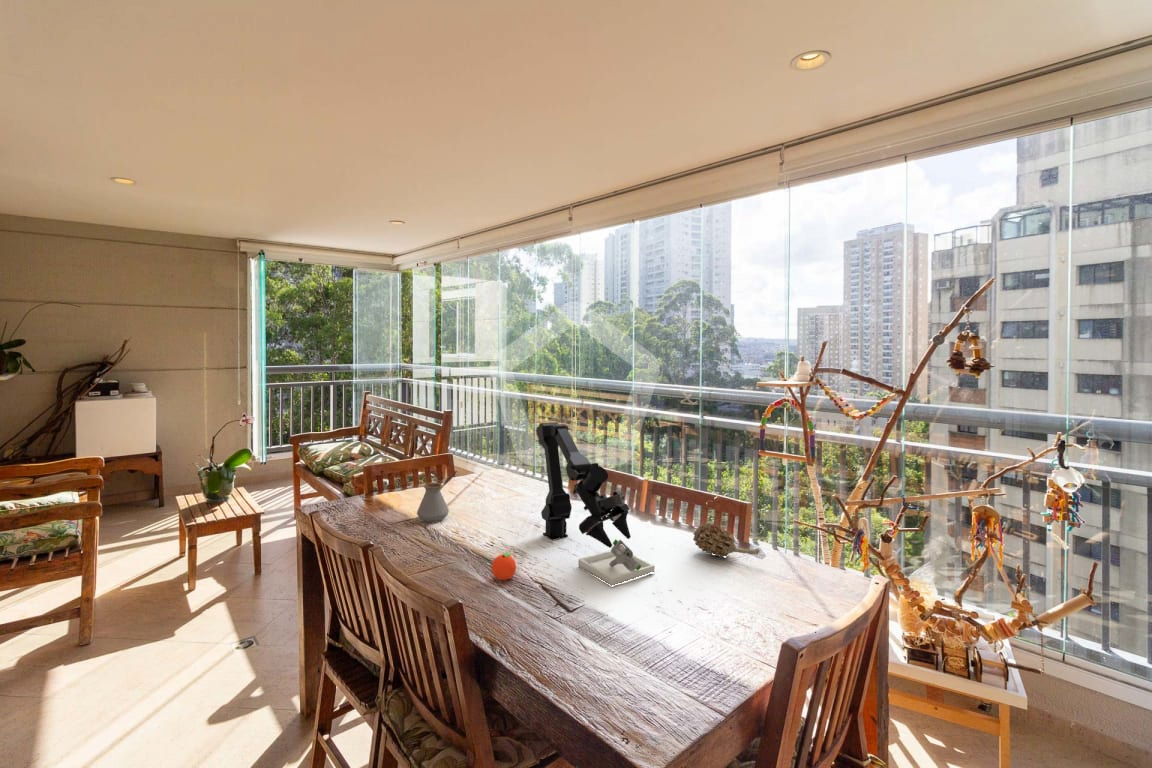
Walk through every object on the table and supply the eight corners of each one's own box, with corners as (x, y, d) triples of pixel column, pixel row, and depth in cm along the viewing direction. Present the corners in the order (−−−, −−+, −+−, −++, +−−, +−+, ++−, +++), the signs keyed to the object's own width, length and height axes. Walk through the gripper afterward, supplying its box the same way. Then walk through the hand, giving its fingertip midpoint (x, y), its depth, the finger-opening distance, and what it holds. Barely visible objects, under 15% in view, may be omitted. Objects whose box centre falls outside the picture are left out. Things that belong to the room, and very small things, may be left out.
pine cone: (687, 555, 179) (688, 524, 178) (698, 545, 186) (700, 516, 186) (757, 572, 166) (758, 540, 165) (766, 562, 174) (767, 531, 173)
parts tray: (611, 587, 155) (611, 578, 155) (578, 566, 168) (578, 558, 168) (654, 573, 164) (654, 565, 164) (619, 555, 177) (619, 547, 177)
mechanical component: (621, 580, 165) (638, 570, 158) (596, 554, 166) (613, 543, 159) (626, 573, 167) (643, 563, 160) (602, 548, 168) (618, 537, 161)
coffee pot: (436, 526, 200) (436, 485, 199) (410, 521, 204) (409, 481, 203) (469, 509, 220) (469, 471, 218) (445, 505, 224) (445, 468, 223)
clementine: (507, 570, 165) (507, 547, 164) (523, 577, 160) (524, 553, 160) (486, 579, 159) (486, 555, 158) (503, 586, 154) (503, 561, 154)
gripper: (587, 489, 159) (618, 537, 153) (625, 477, 173) (654, 520, 167) (566, 510, 165) (595, 557, 159) (604, 497, 179) (632, 539, 173)
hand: (620, 542), depth 164 cm, fingers open, 9 cm apart
